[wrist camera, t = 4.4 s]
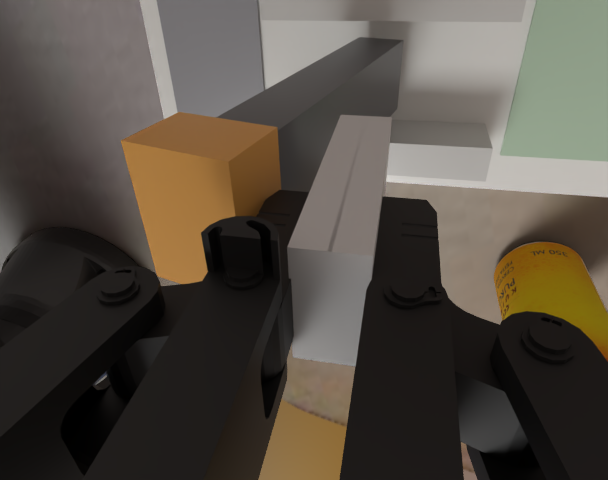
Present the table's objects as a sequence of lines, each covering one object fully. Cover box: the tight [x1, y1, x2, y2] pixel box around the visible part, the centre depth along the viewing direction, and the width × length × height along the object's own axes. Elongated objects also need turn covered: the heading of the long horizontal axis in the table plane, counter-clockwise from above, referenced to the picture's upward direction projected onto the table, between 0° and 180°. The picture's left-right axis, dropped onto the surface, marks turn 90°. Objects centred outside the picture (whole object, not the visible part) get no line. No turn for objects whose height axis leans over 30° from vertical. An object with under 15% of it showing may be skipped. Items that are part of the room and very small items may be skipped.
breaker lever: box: [121, 37, 404, 284], centre depth 16 cm, size 3×4×14 cm
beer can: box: [494, 242, 608, 361], centre depth 28 cm, size 6×6×15 cm
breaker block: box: [140, 0, 608, 197], centre depth 23 cm, size 24×12×10 cm, turn 92°
